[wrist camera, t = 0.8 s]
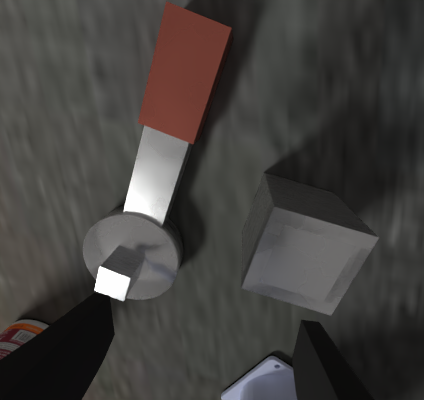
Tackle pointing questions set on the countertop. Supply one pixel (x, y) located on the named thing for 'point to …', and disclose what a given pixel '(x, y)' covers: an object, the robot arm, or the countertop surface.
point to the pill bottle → (19, 335)
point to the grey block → (302, 244)
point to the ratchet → (160, 160)
